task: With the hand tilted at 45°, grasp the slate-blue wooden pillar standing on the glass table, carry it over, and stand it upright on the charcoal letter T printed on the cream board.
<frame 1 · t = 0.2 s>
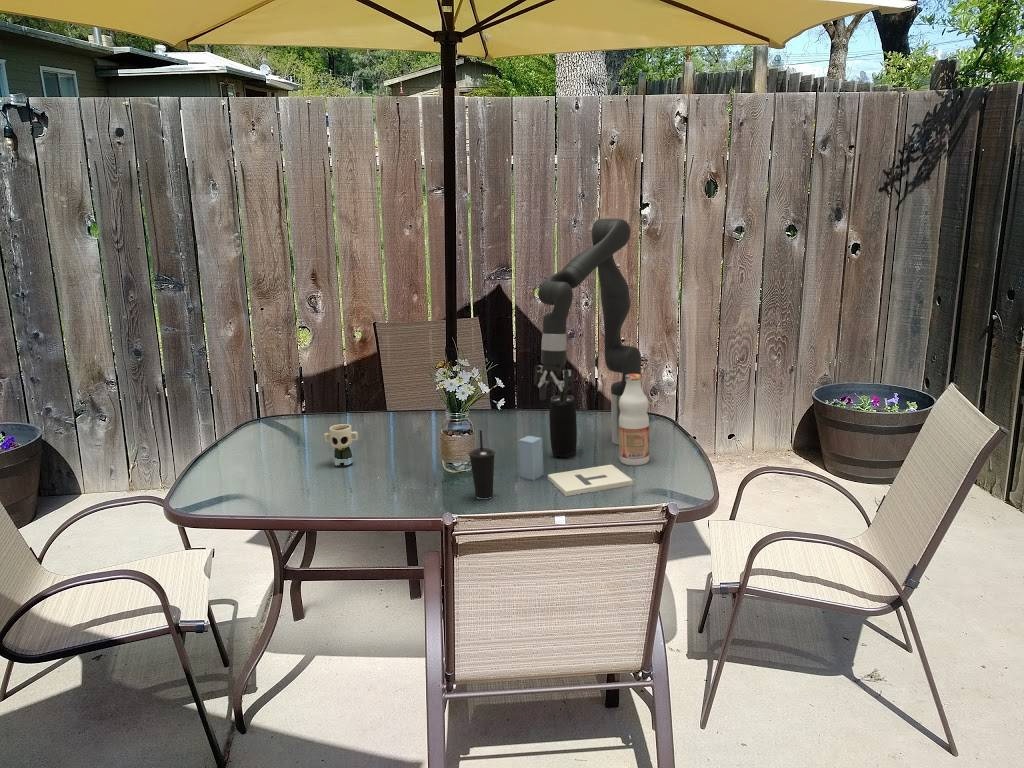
hand: (552, 401, 246), 23 cm above the table, tool pointing down, fingers open, 8 cm apart
slate pillar: (532, 476, 249), on the table
character mug: (344, 465, 268), on the table
portable speaker: (564, 455, 267), on the table
fruit juice: (634, 461, 258), on the table
letter board: (589, 482, 242), on the table
drinking cup: (484, 497, 235), on the table
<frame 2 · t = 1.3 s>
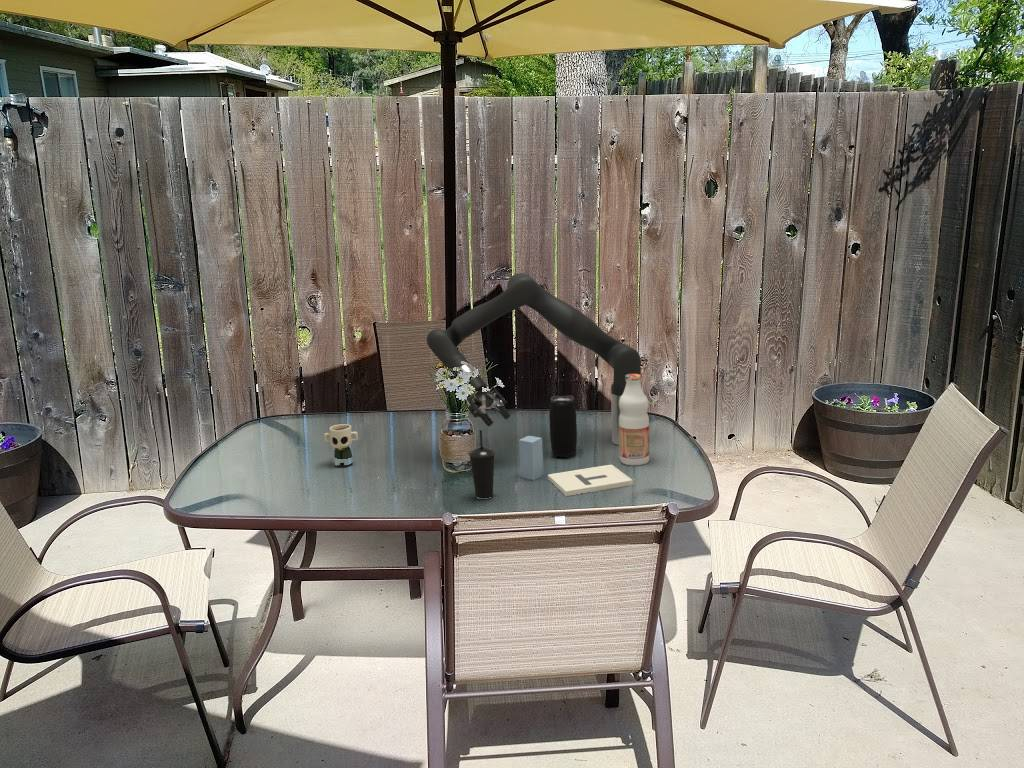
hand: (499, 421, 252), 16 cm above the table, tool tilted 45°, fingers open, 8 cm apart
nothing on the table moved.
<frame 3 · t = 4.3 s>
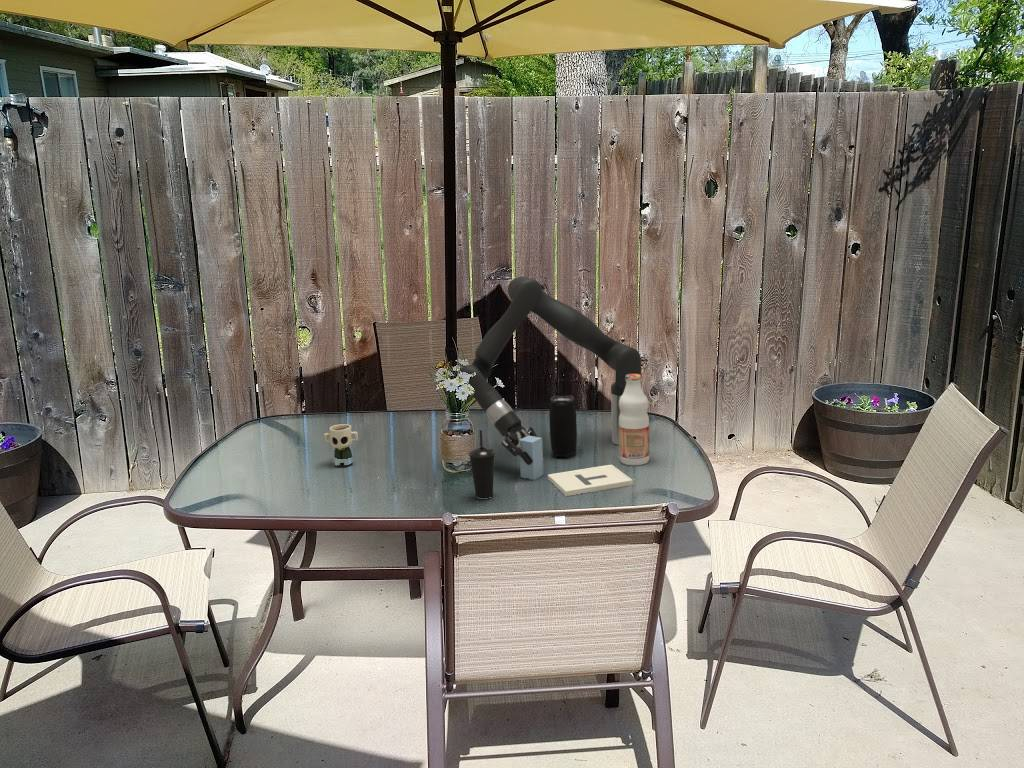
hand: (536, 460, 247), 5 cm above the table, tool tilted 45°, fingers closed on slate pillar, 5 cm apart
slate pillar: (532, 476, 249), on the table, touching gripper
everything else where it was.
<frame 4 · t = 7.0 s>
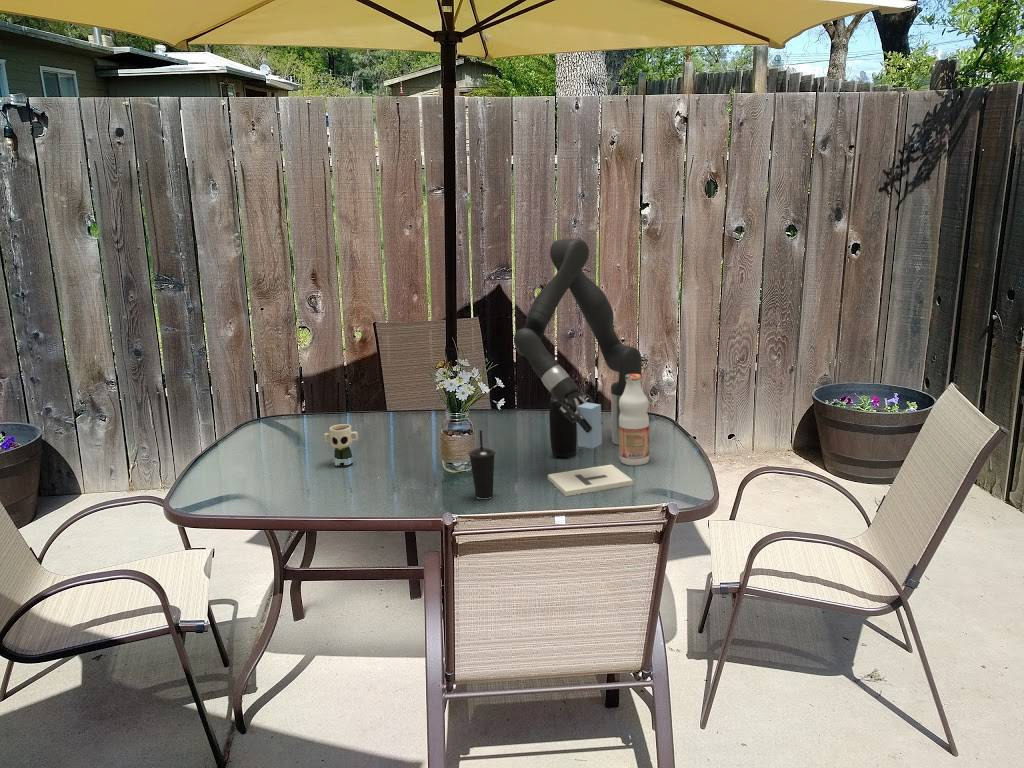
hand: (595, 428, 237), 17 cm above the table, tool tilted 45°, fingers closed on slate pillar, 5 cm apart
slate pillar: (590, 444, 239), point 12 cm above the table, touching gripper
everything else where it was.
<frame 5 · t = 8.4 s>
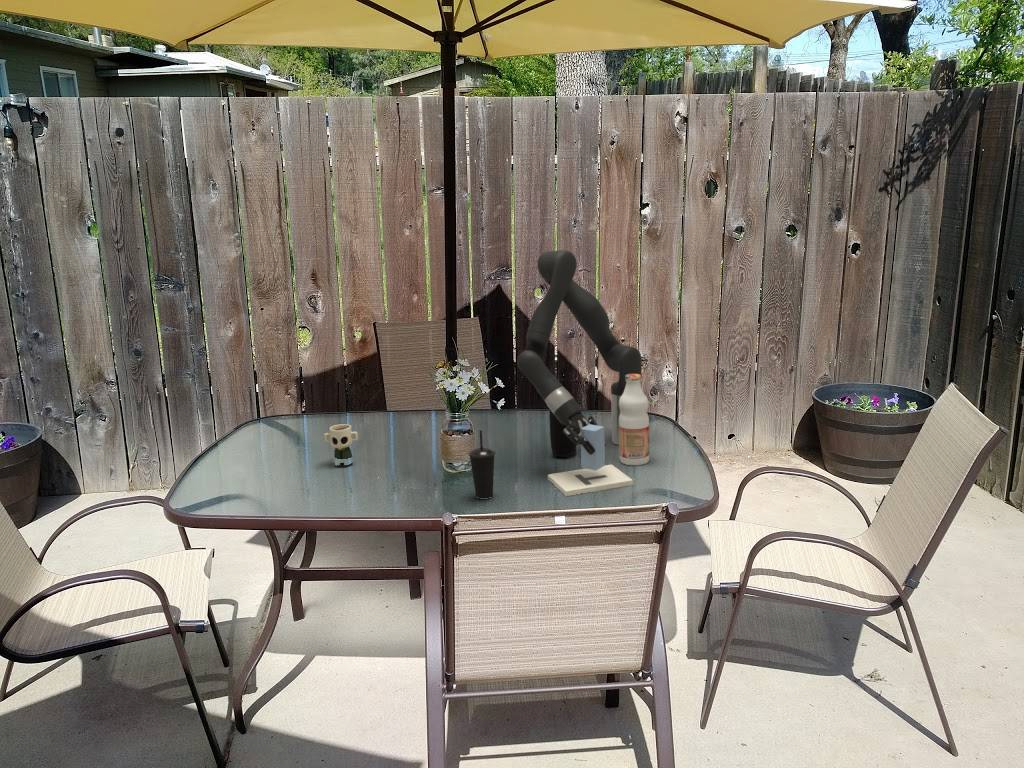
hand: (598, 450, 238), 10 cm above the table, tool tilted 45°, fingers closed on slate pillar, 5 cm apart
slate pillar: (593, 466, 240), point 5 cm above the table, touching gripper
everything else where it was.
when the fingers open (8 cm above the table, at t = 9.7 s): slate pillar drops 1 cm, resting on letter board.
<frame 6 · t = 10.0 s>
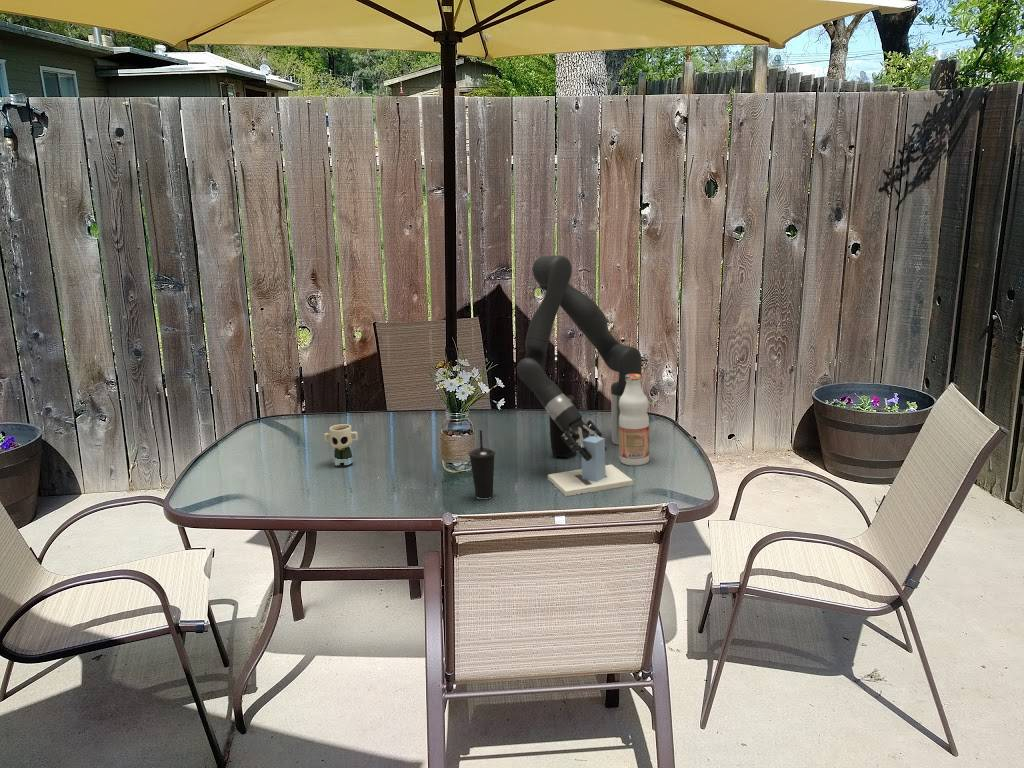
hand: (597, 455, 238), 9 cm above the table, tool tilted 45°, fingers open, 8 cm apart
slate pillar: (593, 477, 241), point 2 cm above the table, touching letter board
everything else where it was.
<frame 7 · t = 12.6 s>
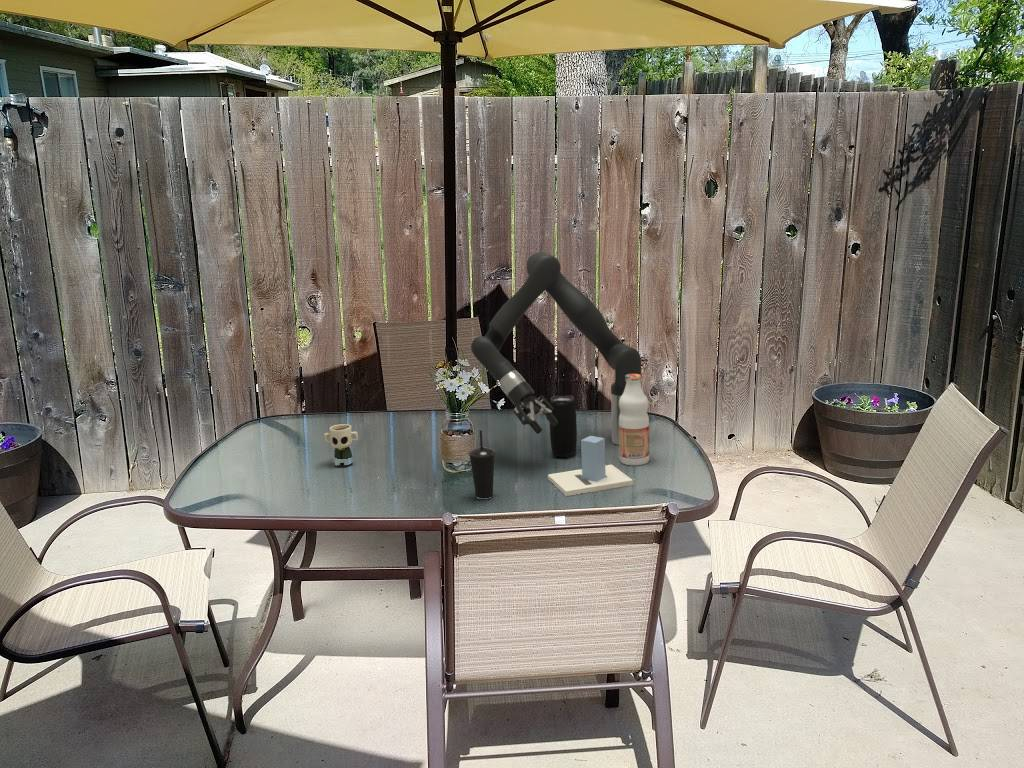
hand: (548, 428, 249), 14 cm above the table, tool tilted 45°, fingers open, 8 cm apart
nothing on the table moved.
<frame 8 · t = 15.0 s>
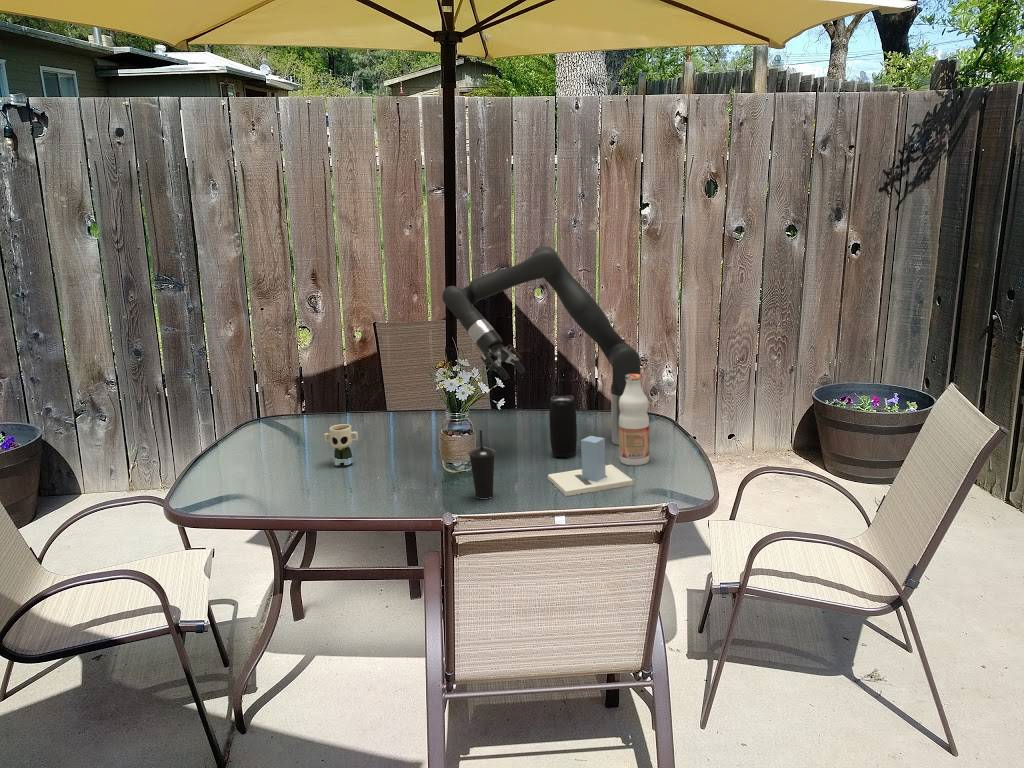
hand: (515, 375, 256), 29 cm above the table, tool tilted 45°, fingers open, 8 cm apart
nothing on the table moved.
at the end: slate pillar inside the target area on the letter board (0.1 cm from its centre), point 1.5 cm above the letter board's base; slate pillar tilted 0°; the gripper is holding nothing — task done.
